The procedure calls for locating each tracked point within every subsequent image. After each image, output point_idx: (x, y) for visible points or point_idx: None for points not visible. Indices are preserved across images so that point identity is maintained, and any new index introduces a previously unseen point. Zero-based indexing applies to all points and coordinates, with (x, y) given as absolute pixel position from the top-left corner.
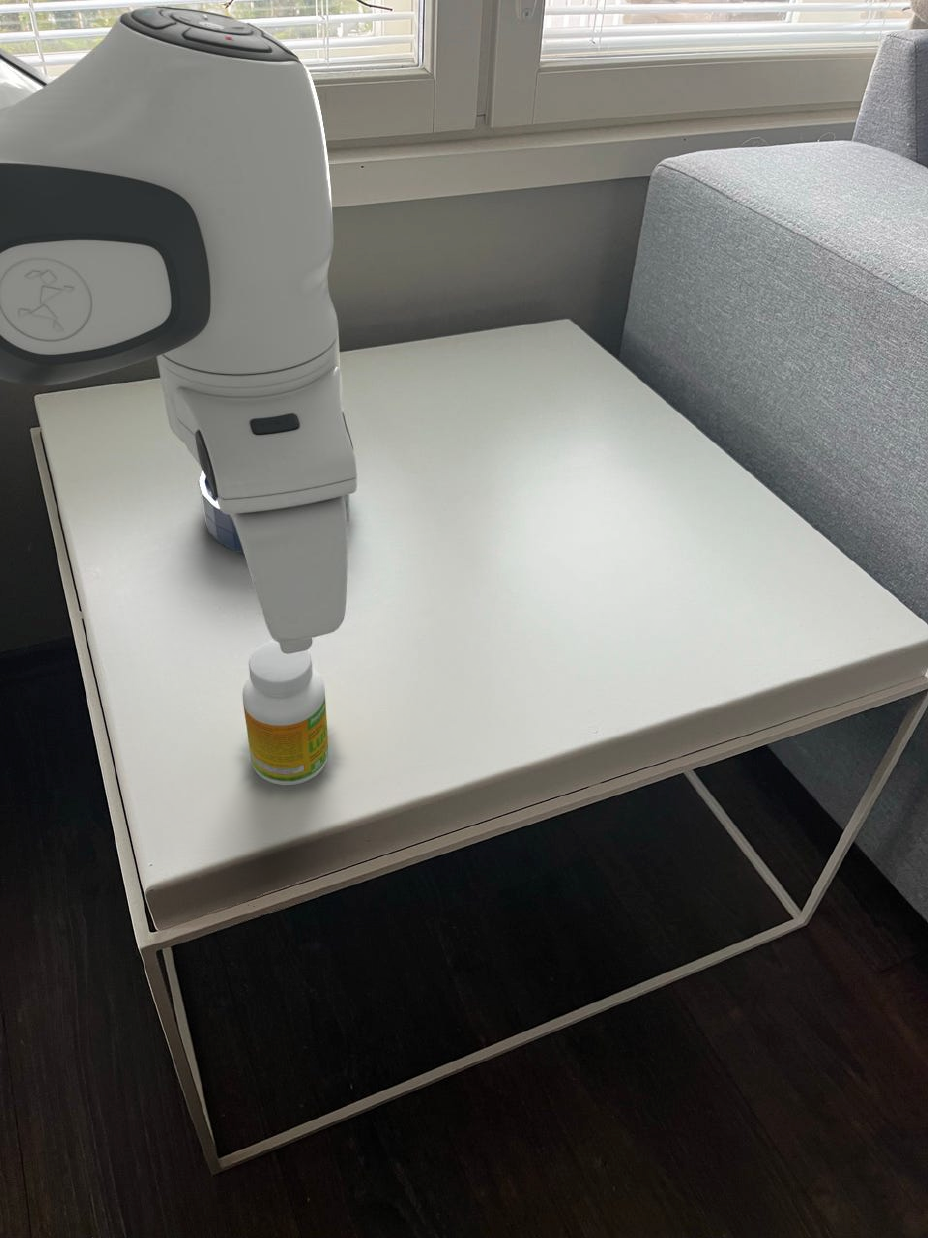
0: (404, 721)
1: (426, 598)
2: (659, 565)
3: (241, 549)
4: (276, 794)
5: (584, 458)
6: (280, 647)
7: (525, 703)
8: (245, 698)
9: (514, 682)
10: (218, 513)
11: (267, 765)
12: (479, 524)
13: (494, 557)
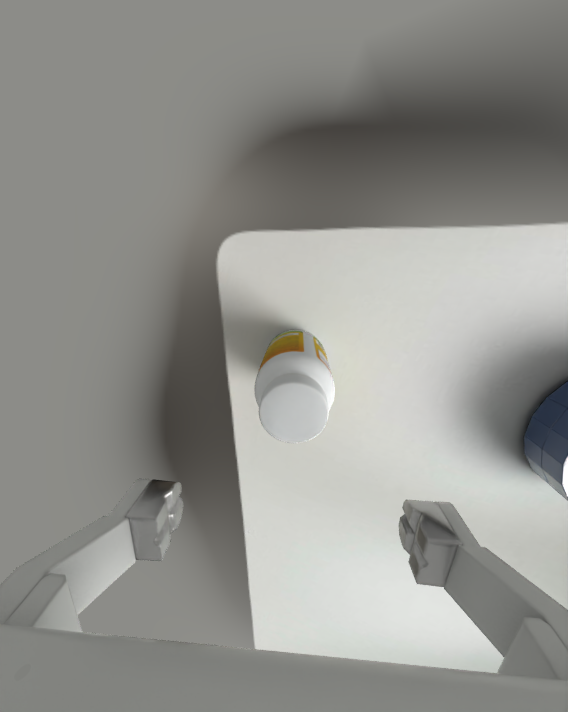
0: None
1: (415, 494)
2: (370, 620)
3: (566, 387)
4: (264, 339)
5: None
6: (135, 483)
7: (285, 509)
8: (291, 357)
9: (306, 511)
10: None
11: (272, 343)
12: None
13: None
